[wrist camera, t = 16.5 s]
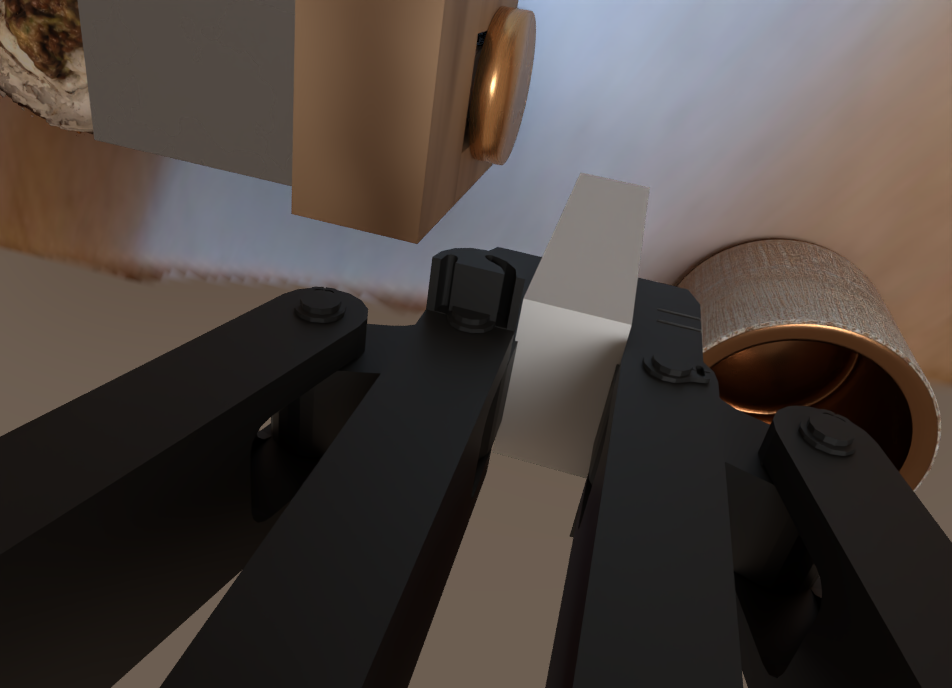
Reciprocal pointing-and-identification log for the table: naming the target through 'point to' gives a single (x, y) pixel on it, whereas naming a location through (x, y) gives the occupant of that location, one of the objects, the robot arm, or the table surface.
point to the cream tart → (45, 61)
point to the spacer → (384, 111)
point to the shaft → (501, 84)
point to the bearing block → (194, 80)
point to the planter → (814, 345)
